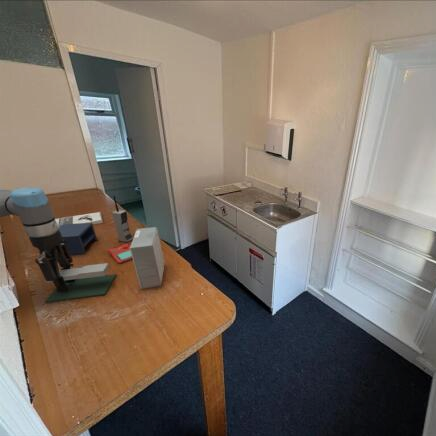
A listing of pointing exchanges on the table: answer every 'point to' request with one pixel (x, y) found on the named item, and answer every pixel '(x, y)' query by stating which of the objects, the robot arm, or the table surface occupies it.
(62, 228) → the navy slotted box
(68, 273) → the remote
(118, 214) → the vintage mobile phone
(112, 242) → the table surface
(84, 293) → the mat
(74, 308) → the table surface
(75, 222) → the book
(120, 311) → the table surface
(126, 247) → the handheld gaming console
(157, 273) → the hard drive box
